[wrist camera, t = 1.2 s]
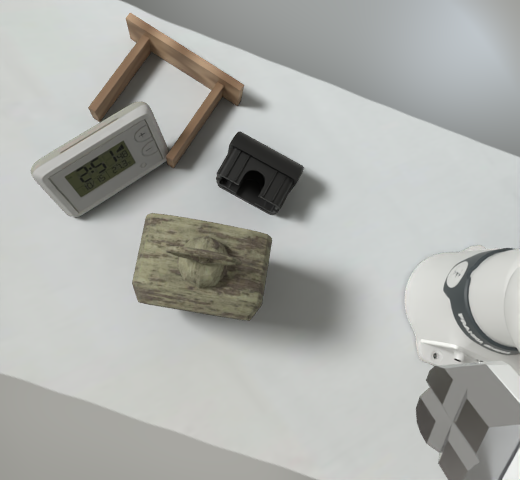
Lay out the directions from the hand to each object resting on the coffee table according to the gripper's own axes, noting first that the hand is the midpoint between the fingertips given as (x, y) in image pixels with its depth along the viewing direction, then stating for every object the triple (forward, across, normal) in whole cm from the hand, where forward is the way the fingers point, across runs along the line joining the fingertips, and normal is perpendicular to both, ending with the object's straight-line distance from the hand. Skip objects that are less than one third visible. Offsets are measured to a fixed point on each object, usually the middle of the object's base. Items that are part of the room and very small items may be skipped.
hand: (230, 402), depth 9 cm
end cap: (+58, +15, -19) cm, 62 cm away
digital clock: (+60, -5, -20) cm, 63 cm away
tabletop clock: (+50, +7, -30) cm, 59 cm away
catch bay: (+65, +2, -11) cm, 66 cm away
